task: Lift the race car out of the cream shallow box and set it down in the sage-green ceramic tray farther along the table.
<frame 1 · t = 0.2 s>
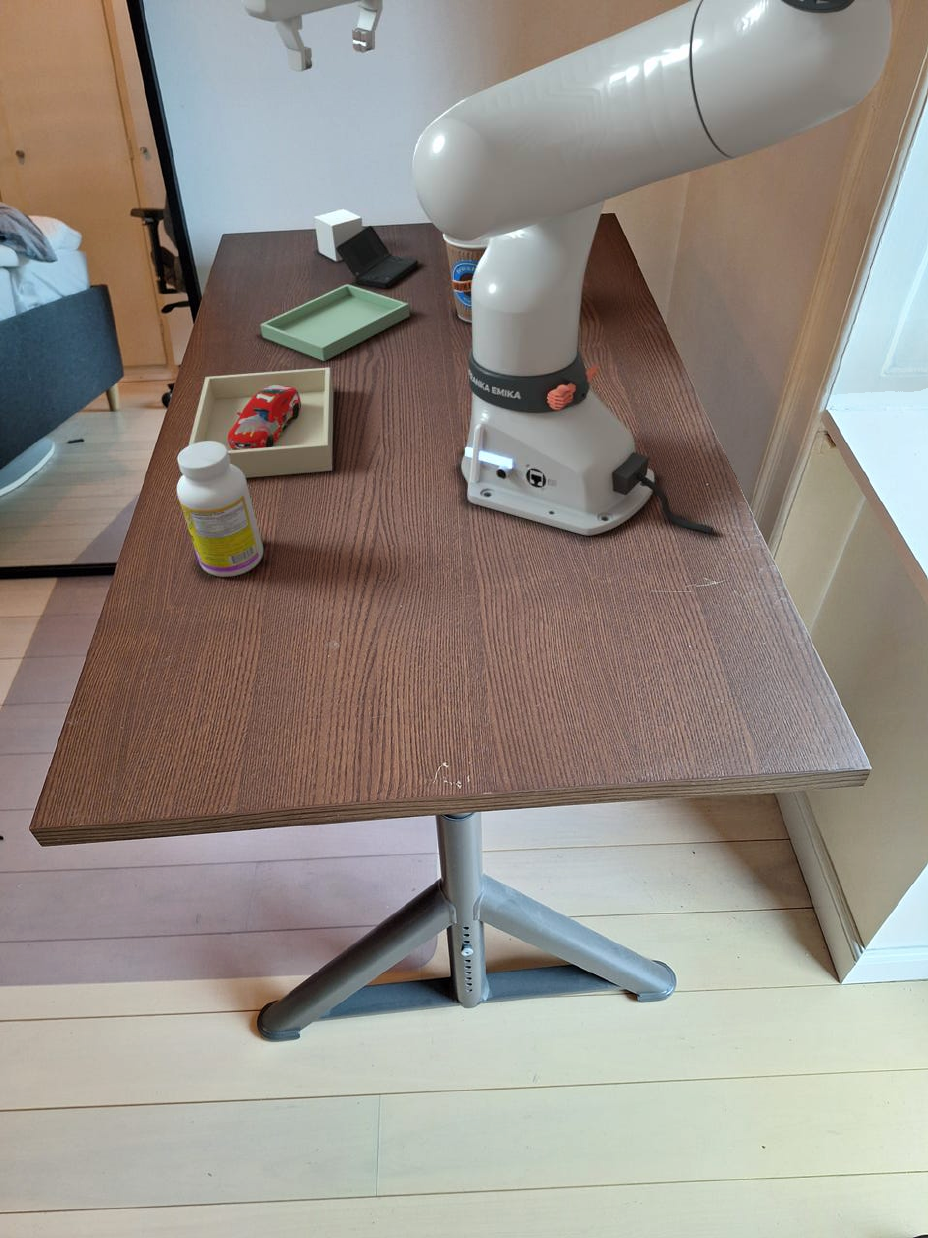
hand: (333, 59, 84), 38 cm above the table, tool pointing down, fingers open, 8 cm apart
white cube: (342, 253, 151), on the table
handheld gaming console: (379, 274, 144), on the table
cream shallow box: (268, 433, 107), on the table
supplement bottle: (232, 560, 89), on the table
coffee cup: (480, 315, 130), on the table
race car: (267, 431, 106), resting on cream shallow box
tray: (337, 326, 129), on the table
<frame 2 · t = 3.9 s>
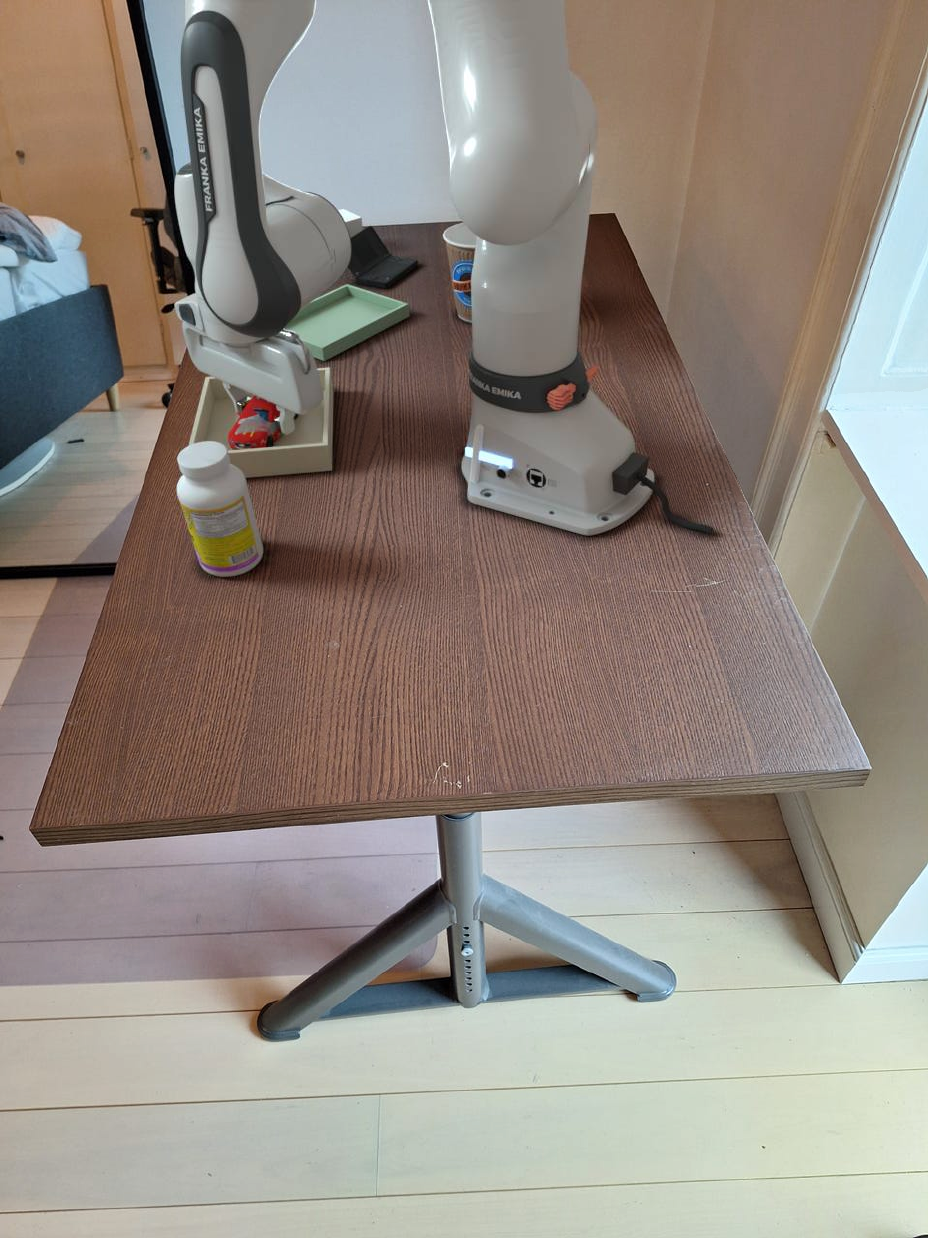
hand: (265, 421, 105), 2 cm above the table, tool pointing down, fingers closed on race car, 6 cm apart
race car: (267, 431, 106), resting on cream shallow box, touching gripper
everything else where it was.
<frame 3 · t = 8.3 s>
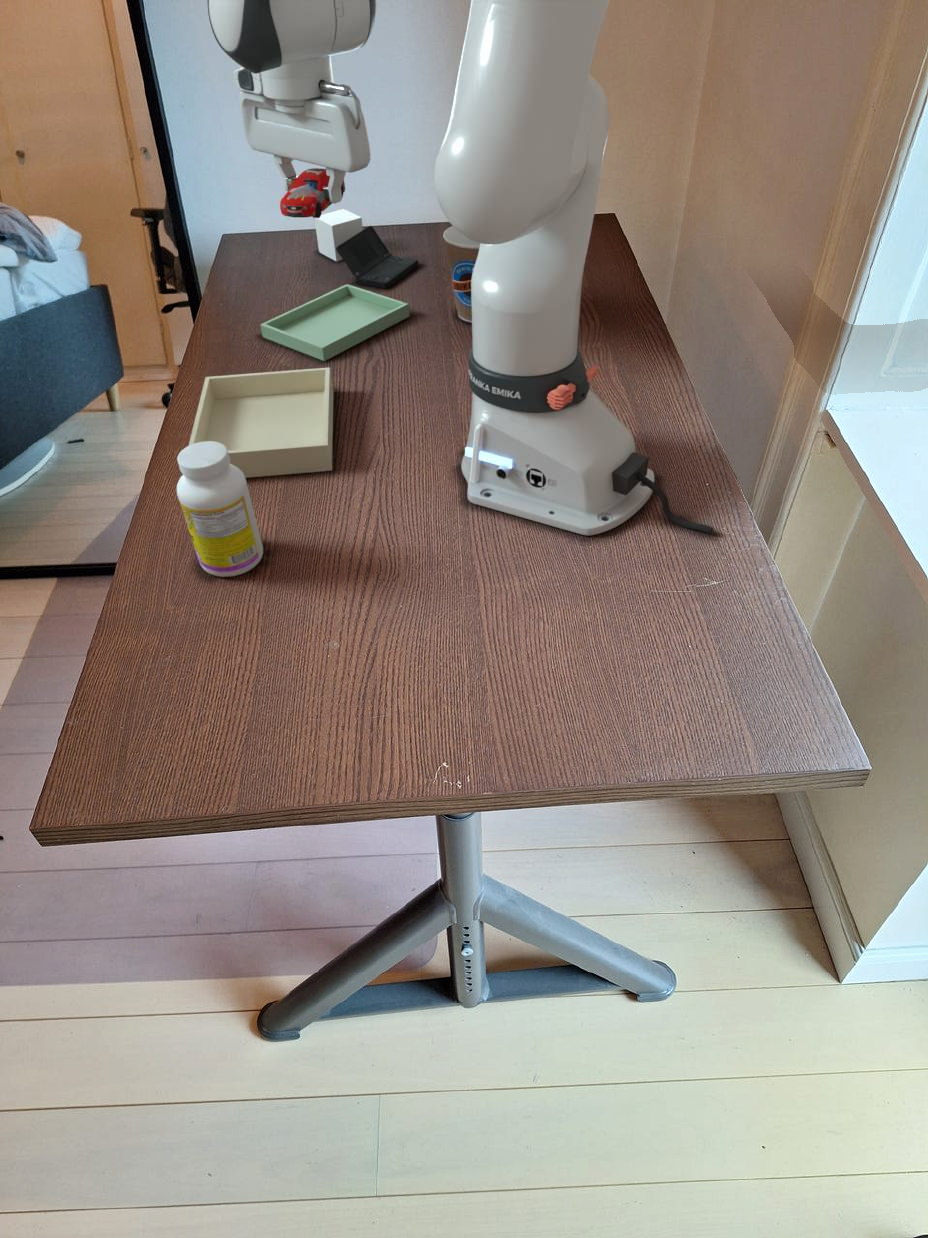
hand: (313, 196, 114), 19 cm above the table, tool pointing down, fingers closed on race car, 6 cm apart
race car: (315, 207, 115), point 18 cm above the table, touching gripper
everything else where it was.
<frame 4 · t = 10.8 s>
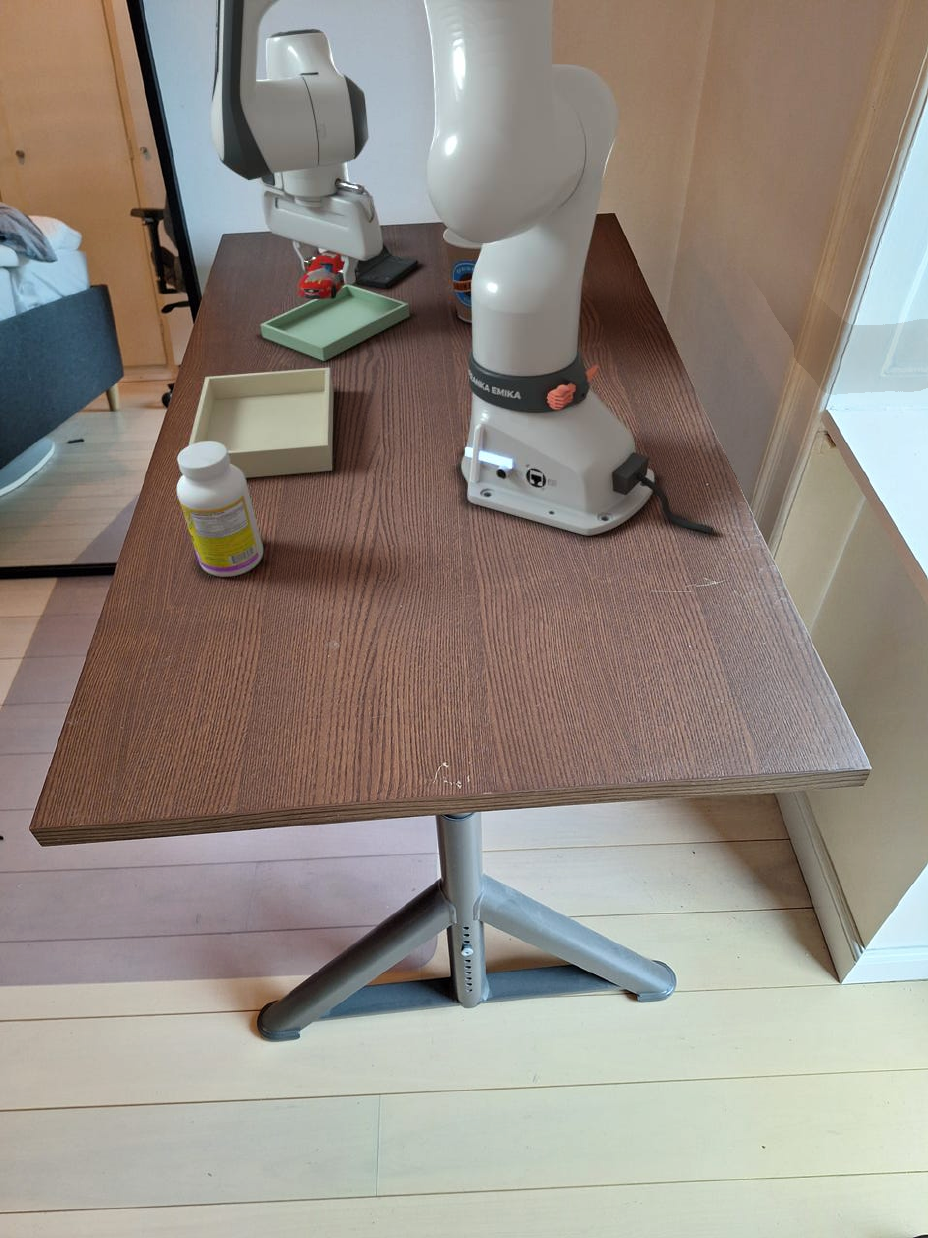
hand: (328, 276, 123), 8 cm above the table, tool pointing down, fingers closed on race car, 6 cm apart
race car: (330, 286, 124), point 6 cm above the table, touching gripper
everything else where it was.
when the fingers open (2 cm above the table, at t = 12.8 s): race car stays where it is, resting on tray.
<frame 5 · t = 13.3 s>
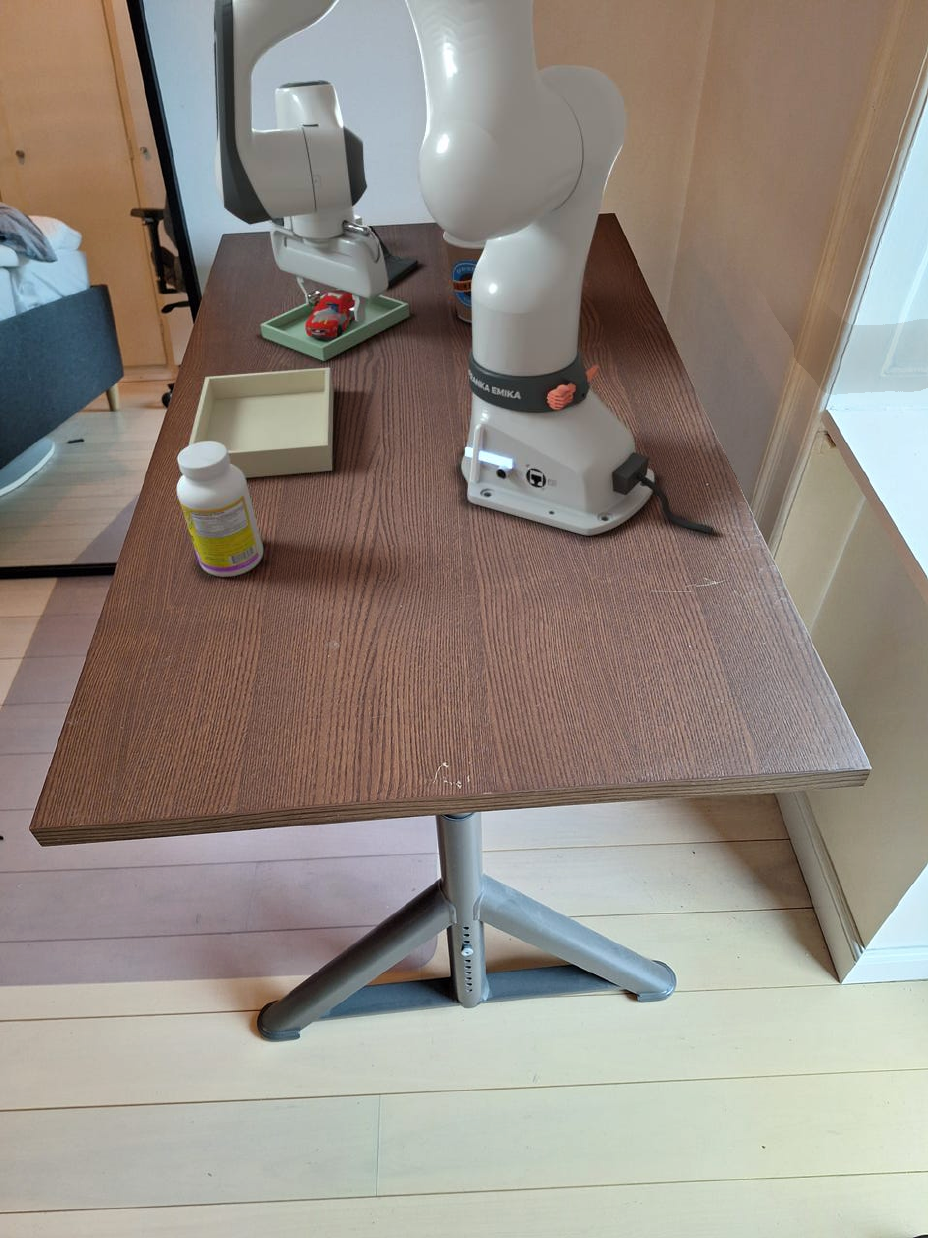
hand: (336, 312, 127), 2 cm above the table, tool pointing down, fingers open, 8 cm apart
race car: (335, 324, 128), resting on tray
everything else where it was.
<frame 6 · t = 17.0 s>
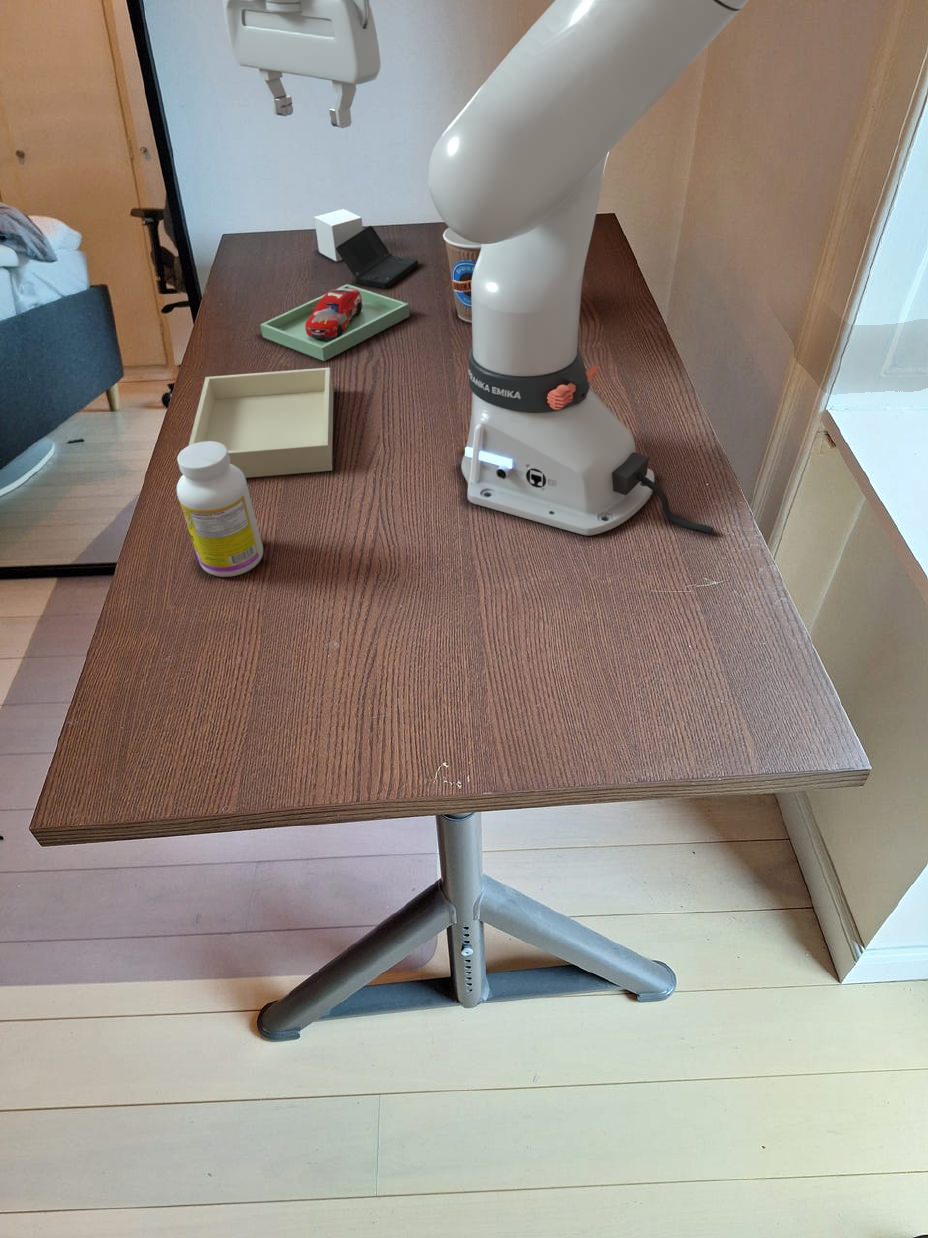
hand: (312, 120, 96), 31 cm above the table, tool pointing down, fingers open, 8 cm apart
nothing on the table moved.
at the end: race car inside the target area in the tray (0.1 cm from its centre), point 0.3 cm above the tray's base; the gripper is holding nothing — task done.
